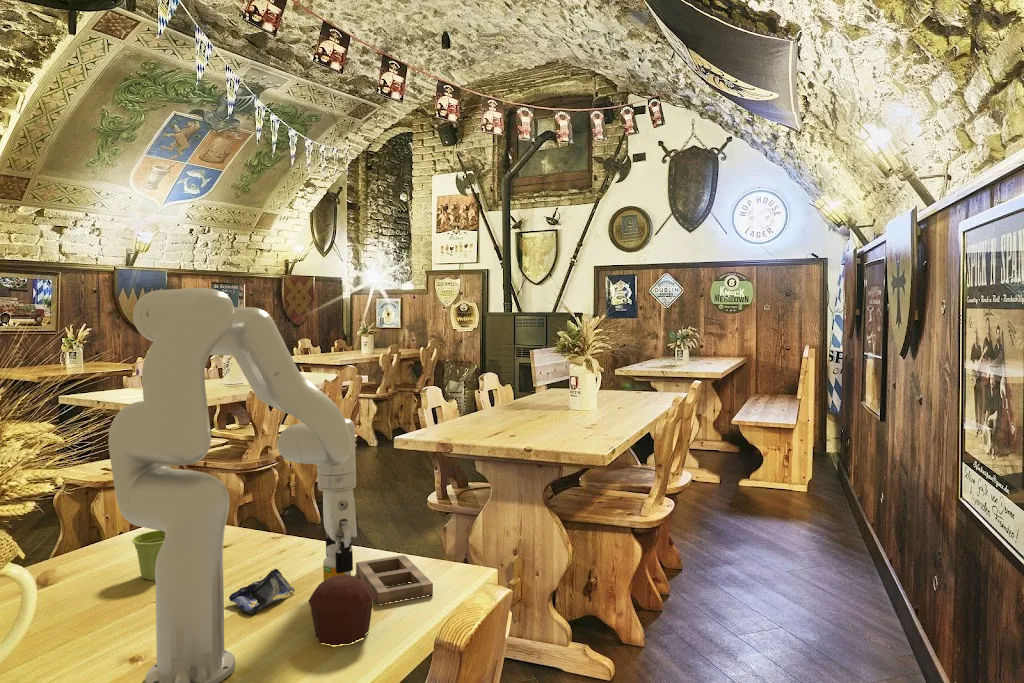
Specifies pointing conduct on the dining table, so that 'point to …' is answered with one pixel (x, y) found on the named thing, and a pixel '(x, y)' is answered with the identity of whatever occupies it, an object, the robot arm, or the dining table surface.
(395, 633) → the dining table surface
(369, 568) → the bottle rack
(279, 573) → the snack package
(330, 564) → the supplement bottle
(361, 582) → the muffin
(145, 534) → the plant pot
